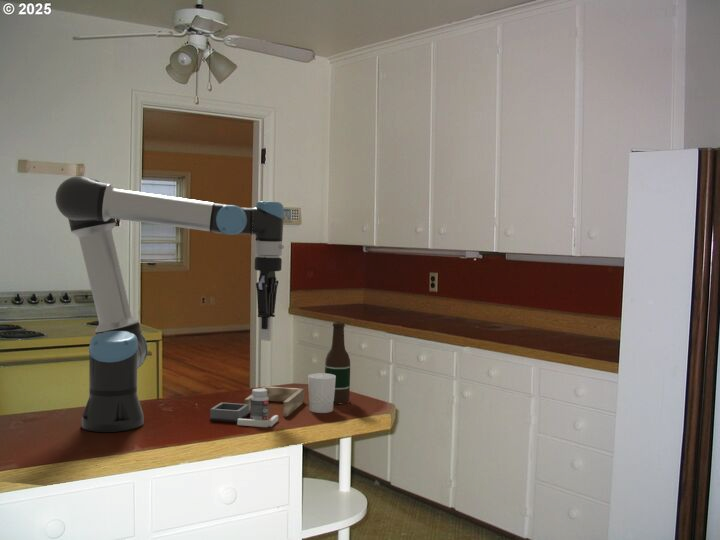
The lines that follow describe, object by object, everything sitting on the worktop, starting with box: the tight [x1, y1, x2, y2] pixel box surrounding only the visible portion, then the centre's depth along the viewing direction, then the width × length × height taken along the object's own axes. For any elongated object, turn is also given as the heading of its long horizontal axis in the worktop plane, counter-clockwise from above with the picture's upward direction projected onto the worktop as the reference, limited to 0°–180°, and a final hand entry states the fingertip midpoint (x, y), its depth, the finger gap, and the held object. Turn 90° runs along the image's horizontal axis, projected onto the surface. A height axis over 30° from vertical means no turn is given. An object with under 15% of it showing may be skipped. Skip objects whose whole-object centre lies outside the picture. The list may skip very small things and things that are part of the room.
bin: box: [209, 402, 250, 423], centre depth 198 cm, size 8×8×3 cm
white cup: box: [307, 372, 336, 414], centre depth 208 cm, size 8×8×10 cm
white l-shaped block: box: [236, 414, 279, 428], centre depth 193 cm, size 9×7×2 cm
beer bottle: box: [324, 321, 351, 405], centre depth 220 cm, size 8×8×24 cm
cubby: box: [244, 385, 305, 417], centre depth 210 cm, size 12×18×4 cm
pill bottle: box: [249, 388, 270, 421], centre depth 195 cm, size 5×5×8 cm
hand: (265, 340), depth 205 cm, fingers closed
